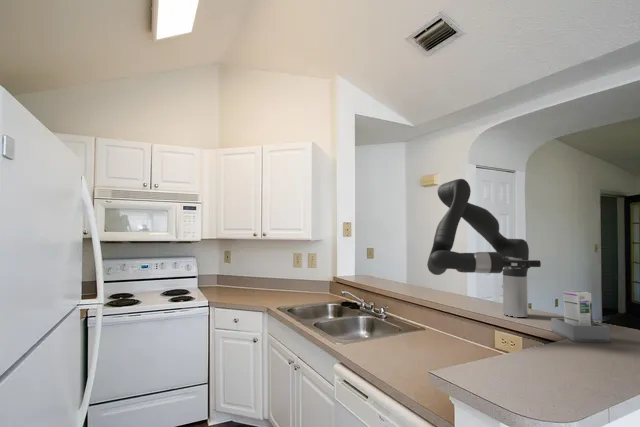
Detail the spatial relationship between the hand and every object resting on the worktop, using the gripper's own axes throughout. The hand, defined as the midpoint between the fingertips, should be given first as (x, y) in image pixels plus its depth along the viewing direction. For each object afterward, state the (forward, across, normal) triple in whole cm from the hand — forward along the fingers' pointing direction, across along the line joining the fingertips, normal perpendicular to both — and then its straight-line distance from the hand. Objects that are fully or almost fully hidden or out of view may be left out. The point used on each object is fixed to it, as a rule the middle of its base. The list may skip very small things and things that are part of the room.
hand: (533, 262), depth 124 cm
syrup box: (+13, -1, +24) cm, 28 cm away
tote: (+13, -1, +25) cm, 29 cm away
